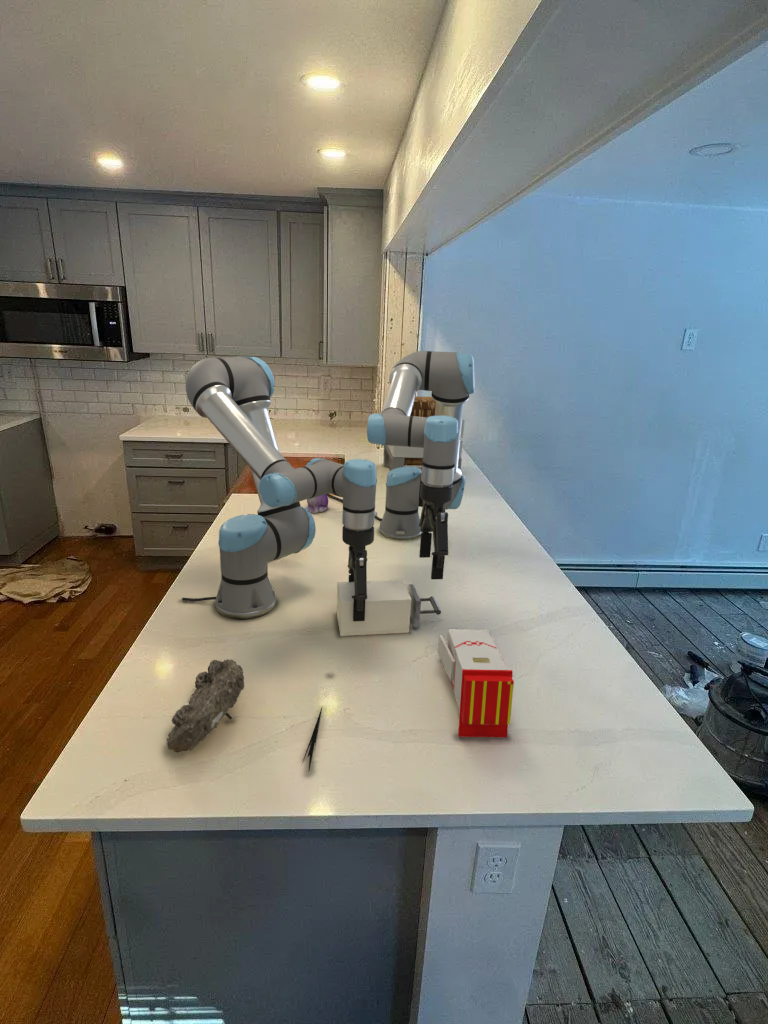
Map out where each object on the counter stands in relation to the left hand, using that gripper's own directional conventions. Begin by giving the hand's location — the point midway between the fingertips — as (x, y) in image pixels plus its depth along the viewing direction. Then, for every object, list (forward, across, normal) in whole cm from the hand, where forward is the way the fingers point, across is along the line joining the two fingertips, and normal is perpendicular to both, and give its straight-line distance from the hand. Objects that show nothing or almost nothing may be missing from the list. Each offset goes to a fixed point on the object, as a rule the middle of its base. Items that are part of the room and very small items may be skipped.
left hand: (356, 608), depth 140 cm
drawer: (+3, 0, -10) cm, 11 cm away
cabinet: (+4, 0, -4) cm, 6 cm away
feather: (+4, -34, +11) cm, 36 cm away
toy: (+4, -29, -21) cm, 36 cm away
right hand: (-11, 0, -18) cm, 21 cm away
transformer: (+5, +135, -47) cm, 143 cm away
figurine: (+4, +85, +5) cm, 85 cm away
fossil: (+4, -31, +31) cm, 44 cm away
